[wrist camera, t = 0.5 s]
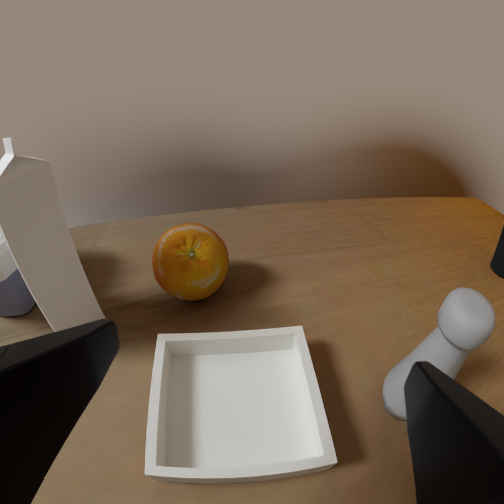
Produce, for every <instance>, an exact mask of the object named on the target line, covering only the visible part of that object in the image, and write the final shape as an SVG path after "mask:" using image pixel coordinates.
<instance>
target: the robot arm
mask: <svg viewBox="0 0 504 504" xmlns="http://www.w3.org/2000/svg"><path fill="white" fill-rule="evenodd" d="M119 346H120V342H119V337H118V332H117V327H116V324H115V322H114V321H111V320H108V319H99V320H96V321H92V322H89V323H85V324H82V325H78V326H75V327H71V328H68V329H64V330H61V331H57V332H54V333H50V334H46V335H43V336H39V337H35V338H32V339H28V340H24V341H21V342H17V343H13V344H11V345H10V344H9V345H5V346H1V347H0V504H31V502H32V501H33V499H34V497H35V495H36V493H37V491H38V489H39V487H40V485H41V484H42V482H43V480H44V477H45V476H46V474H47V472H48V470H49V469H50V467H51V465H52V463H53V462H54V460H55V458H56V456H57V455H58V453H59V451H60V450H61V448H62V446H63V444H64V443H65V441H66V439H67V438H68V436H69V434H70V433H71V431H72V429H73V428H74V426H75V425H76V423H77V421H78V420H79V418H80V416H81V415H82V413H83V412H84V410H85V408H86V407H87V405H88V404H89V402H90V401H91V399H92V397H93V396H94V394H95V393H96V391H97V390H98V388H99V386H100V385H101V383H102V381H103V379H104V377H105V375H106V373H107V371H108V369H109V367H110V365H111V363H112V362H113V360H114V358H115V356H116V354H117V352H118V350H119ZM404 397H405V407H406V419H407V431H408V438H409V444H410V450H411V457H412V464H413V471H414V479H415V488H416V499H417V504H504V416H503V415H502V414H501V413H499V412H498V411H496V410H495V409H494V408H492V407H491V406H490V405H488V404H487V403H485V402H484V401H483V400H481V399H480V398H478V397H477V396H476V395H474V394H473V393H472V392H470V391H469V390H467V389H466V388H465V387H463V386H462V385H460V384H459V383H458V382H456V381H455V380H453V379H452V378H451V377H449V376H448V375H446V374H445V373H444V372H442V371H441V370H439V369H438V368H437V367H435V366H434V365H432V364H431V363H430V362H428V361H416V362H415V363H414V364H413V366H412V368H411V370H410V372H409V375H408V377H407V379H406V381H405V384H404Z"/></svg>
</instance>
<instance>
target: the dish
mask: <svg viewBox="0 0 504 504" xmlns="http://www.w3.org/2000/svg"><path fill="white" fill-rule="evenodd" d="M336 463H338V462H337V457H336V453H335V449H334V445H333V441H332V437H331V433H330V429H329V425H328V421H327V417H326V413H325V409H324V405H323V401H322V398H321V394H320V390H319V386H318V382H317V379H316V375H315V371H314V368H313V364H312V360H311V357H310V353H309V349H308V346H307V342H306V338H305V335H304V331H303V328H302V326H293V327H283V328H271V329H259V330H246V331H230V332H210V333H179V334H158V336H157V343H156V350H155V357H154V365H153V373H152V381H151V390H150V400H149V411H148V422H147V436H146V453H145V475H146V476H148V477H151V478H153V479H155V480H157V481H163V482H176V483H202V484H215V483H242V482H255V481H266V480H274V479H282V478H289V477H295V476H301V475H307V474H312V473H317V472H322V471H326V470H328V469H330V468H331V467H332V466H334V465H335V464H336Z"/></svg>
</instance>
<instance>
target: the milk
mask: <svg viewBox="0 0 504 504" xmlns="http://www.w3.org/2000/svg"><path fill="white" fill-rule="evenodd" d="M3 143H4V148H5V155H4V156H3V158H2V159H1V160H0V229H1V231H2V234H3V236H4V239H5V241H6V243H7V246H8V248H9V250H10V252H11V255H12V257H13V259H14V261H15V263H16V265H17V267H18V270H19V272H20V274H21V276H22V278H23V279H24V281H25V283H26V285H27V287H28V289H29V291H30V293H31V294H32V296H33V298H34V300H35V301H36V303H37V305H38V307H39V308H40V310H41V312H42V313H43V315H44V317H45V318H46V320H47V321H48V323H49V325H50V326H51V328H52V329H53V330H54V332H57V331H61V330H64V329H68V328H71V327H75V326H78V325H82V324H85V323H89V322H92V321H96V320H99V319H106V318H105V316H104V314H103V312H102V310H101V308H100V306H99V304H98V302H97V300H96V297H95V295H94V293H93V291H92V288H91V286H90V284H89V281H88V279H87V277H86V274H85V272H84V269H83V267H82V264H81V262H80V259H79V257H78V254H77V251H76V249H75V246H74V243H73V240H72V237H71V235H70V232H69V229H68V226H67V223H66V219H65V216H64V213H63V210H62V206H61V203H60V200H59V196H58V192H57V188H56V185H55V181H54V177H53V173H52V168H51V164H50V162H49V161H47V160H43V159H39V158H35V157H29V156H24V155H18V154H15V152H14V148H13V142H12V139H11V138H3Z"/></svg>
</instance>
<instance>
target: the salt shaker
mask: <svg viewBox="0 0 504 504" xmlns="http://www.w3.org/2000/svg"><path fill="white" fill-rule="evenodd" d="M437 318H438V326H437V327H436V328H435V329H434V330H433V331H432V332H431V333H430V334H429V335H428V336H427V337H426V338H425V339H424V340H423V341H422V342H421V343H420V344H419V345H418V346H417V347H416V348H415V349H414V350H413V351H411V352H410V353H409V354H408V355H407V356H406V357H405V358H404V359H402V360H401V361H400V362H399V363H398V364H397V365H396V366H394V367H393V368H392V370H391V371H390V372H389V374H388V375H387V376H386V378H385V380H384V385H383V392H382V394H383V399H384V409H385V411H386V412H387V413H389V414H390V415H392V416H393V417H394V418H396V419H397V420H399V421H402V420H407V419H406V407H405V397H404V384H405V381H406V379H407V377H408V375H409V372H410V370H411V368H412V366H413V364H414V363H415V362H416V361H428V362H430V363H431V364H432V365H434V366H435V367H437V368H438V369H439V370H441V371H442V372H444V373H445V374H446V375H448V376H449V377H451V378H452V379H453V380H454V379H455V377H456V376H457V374H458V372H459V371H460V369H461V367H462V365H463V364H464V362H465V360H466V358H467V356H468V354H469V353H470V351H471V350H475V349H477V348H478V347H480V346H481V345H482V344H484V343H485V342H486V341H487V339H488V338H489V337H490V335H491V333H492V331H493V329H494V326H495V321H496V320H495V315H494V311H493V307H492V305H491V304H490V303H489V301H488V300H487V298H485V297H484V296H483V295H482V294H481V293H479V292H478V291H475V290H473V289H471V288H457V289H455V290H453V291H451V292H450V293H449V294H448V296H447V297H446V298H445V300H444V302H443V304H442V306H441V308H440V310H439V312H438V316H437Z"/></svg>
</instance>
